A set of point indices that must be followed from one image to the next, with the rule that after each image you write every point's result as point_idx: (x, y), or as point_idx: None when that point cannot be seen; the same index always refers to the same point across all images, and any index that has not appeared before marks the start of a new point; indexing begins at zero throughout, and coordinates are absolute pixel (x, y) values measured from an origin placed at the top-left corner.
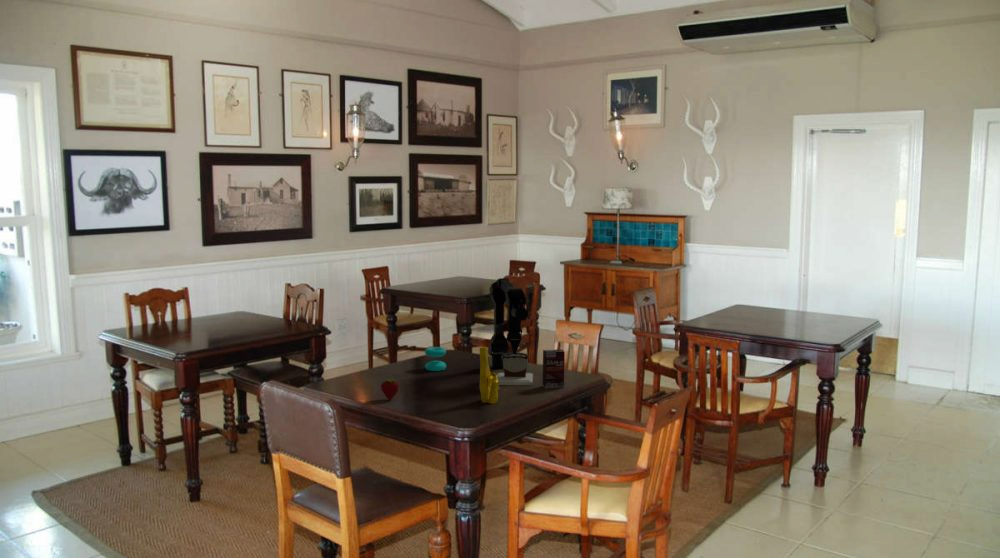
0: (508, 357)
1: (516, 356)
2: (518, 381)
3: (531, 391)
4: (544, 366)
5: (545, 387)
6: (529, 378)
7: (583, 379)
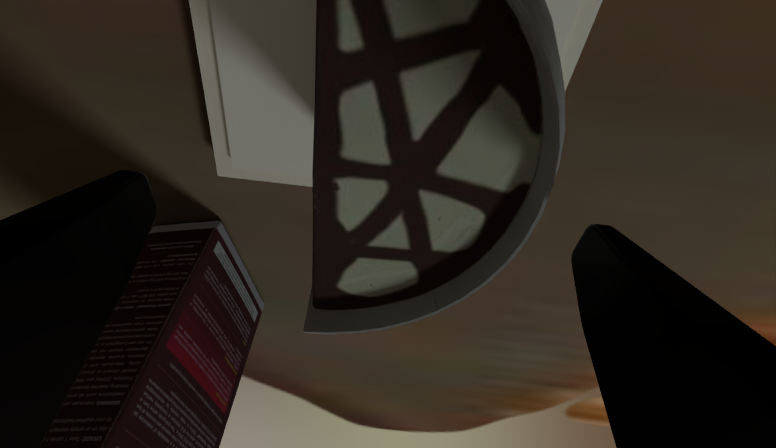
0: (316, 36)
1: (313, 190)
2: (218, 61)
3: (34, 132)
4: (93, 354)
5: (150, 231)
6: (301, 168)
7: (393, 385)
